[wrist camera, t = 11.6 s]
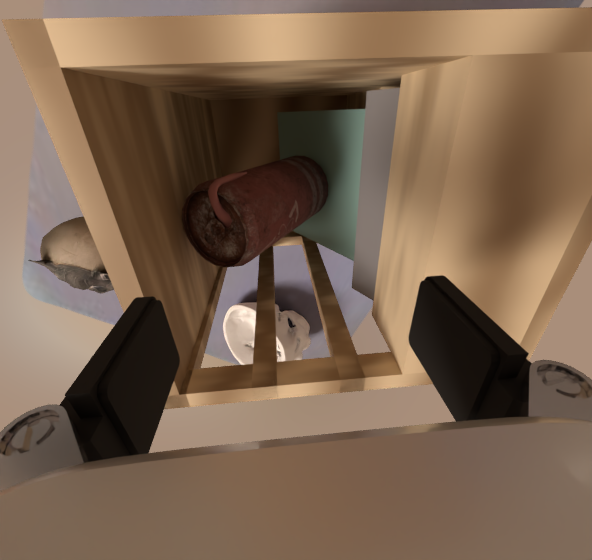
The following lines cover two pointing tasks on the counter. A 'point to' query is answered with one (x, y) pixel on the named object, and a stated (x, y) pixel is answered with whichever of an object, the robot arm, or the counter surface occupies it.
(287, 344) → the skull bowl
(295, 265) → the counter surface
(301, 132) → the green chalkboard
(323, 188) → the can
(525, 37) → the zigzag grain wooden box
